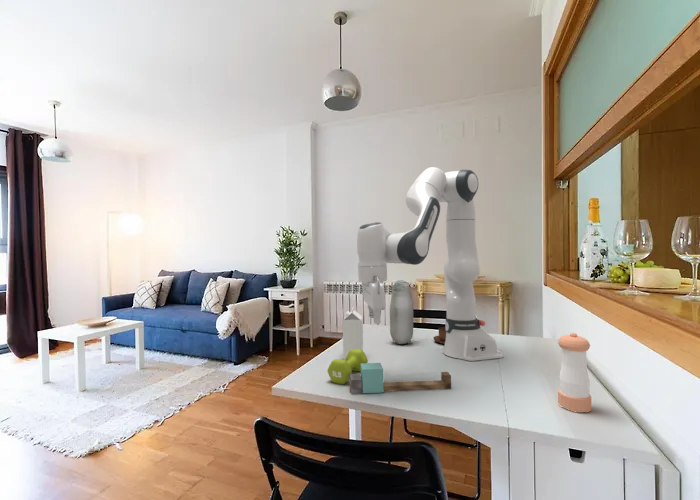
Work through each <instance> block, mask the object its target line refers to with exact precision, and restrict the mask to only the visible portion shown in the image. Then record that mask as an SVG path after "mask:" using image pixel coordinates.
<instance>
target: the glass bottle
mask: <svg viewBox="0 0 700 500" xmlns="http://www.w3.org/2000/svg"><path fill="white" fill-rule="evenodd" d="M389 304H390V305H389V332H390V333H389V334H390V336H391V339H392V340H393V342H394V343H395V344H398V345H405V344H408V343H410V341H412V339H413V336H414V335H413V334H414V306H413V301H412V297H411V288H410V284H409V283H408V282H407V281H406V280H402V279H401V280H397V281H395V282H394V283H393V284H392V291H391V299H390V303H389Z"/></svg>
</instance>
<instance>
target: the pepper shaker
mask: <svg viewBox="0 0 700 500" xmlns="http://www.w3.org/2000/svg"><path fill="white" fill-rule="evenodd" d="M557 344H558V346H559V347H560V348H561V364H560V372H559V377H558V379H559V389H558V390H557V403H559V404H560V405H561V406H563V407H564V408H567V409H569V410H572V411H576V412H575V413H577V412H589V411H591V412H592V396H591V394H590V385H591V384H590V378H589V373H588V367H587V366H588V365H587V364H588V363H587V361H588V360H587V351H589V349H590V347H591V344H590V342H589V340H588V339H587V338H585V337H583V336H580V335H578V334H577V333H575V332H571V333H570V334H566V335H565V334H564V335H562V336H560V337H559V338H558V340H557ZM559 404H558V405H559ZM564 408H563V409H564ZM569 410H568V411H569ZM572 411H571V412H572ZM589 413H590V412H589Z"/></svg>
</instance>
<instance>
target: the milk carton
mask: <svg viewBox="0 0 700 500" xmlns="http://www.w3.org/2000/svg"><path fill="white" fill-rule="evenodd" d="M363 320H364V319H363V316H362V315H361V314H360V313H358V312H357V310H355V307H354V306H353V307H352V309H351V311H349V310H348V311H346V312H345V313H344V318H343V320H342V356H343V357H342V358H343V359H342V360H345V359H346V356H347V354H348V353H349V351H350V350H351V349H360V350H363V351H364V339H363V338H364V336H363V335H364V334H363V333H364V330H363V329H364V327H363V325H364V323H363V322H364V321H363Z"/></svg>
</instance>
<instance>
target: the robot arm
mask: <svg viewBox="0 0 700 500" xmlns="http://www.w3.org/2000/svg"><path fill="white" fill-rule="evenodd" d="M478 189H479V179H478V176H477V175H476V173H475V172H474V171H473V170H470V169H460V170H452V171H446V172H445V171H443V170H442V169H441V168H439V167H435V166H432V167H431V166H429V167H427V168H425V170H423V171H422V172H421V173H420V174H419V175H418V176H417V178H416V179H415V180H414V182H413V184H411V186H410V188H409V189H408V190H407V193H406V196H405V203H406V207H407V208H408V210H409V211H410V212H411V213H413V214H414V215H415V216H417V217H418V218H417V220H416V224H415V226H414V227H413V228H412V229H410V230H408V231H406V232H405V231H404V232H398V233H397V232H395V233H394V232H393V231H391V230H388V229H387V228H386V227H385V226H384V224H383V223H382V222H380V221H378V222H371V223H366V224H362V225H361V226H360V227H359V228H358V230H357V235H356V236H357V238H356V247H357V248H356V251H357V252H356V253H357V256H358V264H357V270H358V271H357V272H358V274H357V275H358V276H357V278H358V282H360V283H361V288H362V290H361V291H362V295H363V300H364V302H365V303H366V304H367V309H368V317H369V318H370V319H373V323H374V324H375V325H380V324H381V315H382V311H384V310H385V309H386V295H385V286H384V282H386V281H388V267H387V266H388V265H387V264H406V265H414V266H415V265H416V266H417V265H419V264H421V263H423V261H424V260H425V259H426V258H427V256H428V253H429V250H430V243H431V239H432V237H433V233H434V230H435V228H436V226H437V223H438V219H439V216H440V212H441V204H440V203H447V208H446V214H445V215H446V216H445V217H446V222H445V226H446V227H445V234H446V235H445V240H446V247H447V259H446V260H445V262H444V265H443V275H444V276H443V277H444V286H445V296H446V317H445V324H444V325H445V329H446V340H445V344H444V346H443V349H442V350H443V351H442V353H443V354H444V356H445V355H446V356H447V357H450V358H453V359H455V358H456V359H460V360H464V361H465V360H466V361H469V362H475V361H481V360H482V361H484V360H492V359H502V358H504V353H503V352H502V351H501V350H499V349H498V346H497V343H496V340H495V338H494V337H493V336H491V335H490V334H489V333H487V332H486V331H485V330H484V329H482V327H485V326H486V324H487V323H486V322H485V320H481V319H478V318H477V310H476V308H477V306H476V305H477V301H476V300H477V299H476V296H475V290H474V284H473V283H474V282H475V281H476V280H478V278H479V276H480V273H481V267H480V264H479V254H478V250H477V249H478V248H477V241H476V211H475V210H476V207H475V203H474V202H475V201H474V197H475V195H476V194H477V192H478ZM481 326H482V327H481Z"/></svg>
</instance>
